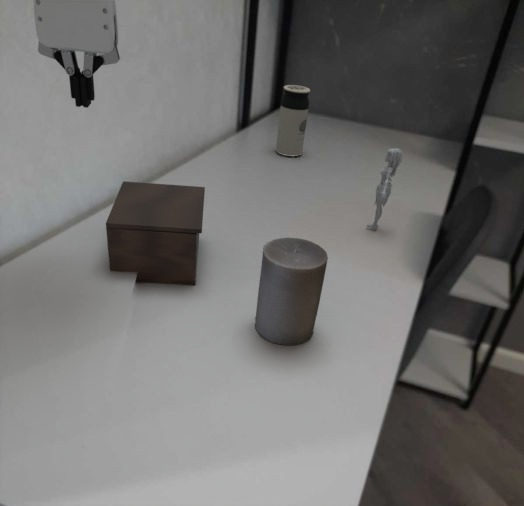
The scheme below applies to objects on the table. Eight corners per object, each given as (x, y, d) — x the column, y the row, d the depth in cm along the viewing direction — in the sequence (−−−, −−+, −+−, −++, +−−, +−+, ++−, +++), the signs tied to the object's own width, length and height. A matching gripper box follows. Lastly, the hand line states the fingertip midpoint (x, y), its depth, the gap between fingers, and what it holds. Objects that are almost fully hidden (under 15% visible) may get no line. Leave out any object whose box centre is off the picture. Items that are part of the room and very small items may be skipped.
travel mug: (270, 151, 157) (277, 85, 146) (288, 147, 161) (296, 83, 150) (288, 159, 152) (297, 92, 141) (307, 155, 157) (317, 90, 146)
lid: (204, 191, 100) (204, 187, 100) (201, 233, 86) (201, 229, 85) (123, 185, 99) (123, 181, 98) (106, 227, 84) (105, 223, 84)
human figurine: (370, 217, 124) (389, 139, 113) (385, 220, 123) (406, 143, 112) (362, 237, 115) (382, 154, 104) (379, 241, 114) (401, 158, 103)
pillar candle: (317, 318, 88) (333, 236, 78) (308, 352, 80) (325, 265, 71) (261, 306, 89) (271, 224, 80) (247, 338, 81) (256, 251, 72)
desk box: (199, 238, 106) (200, 191, 100) (195, 285, 92) (196, 234, 86) (126, 233, 105) (123, 185, 99) (110, 280, 90) (106, 228, 84)
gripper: (135, -45, 69) (139, 104, 80) (16, -63, 67) (37, 93, 78) (127, -44, 63) (132, 117, 74) (-3, -63, 61) (22, 105, 72)
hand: (83, 104), depth 76 cm, fingers closed
